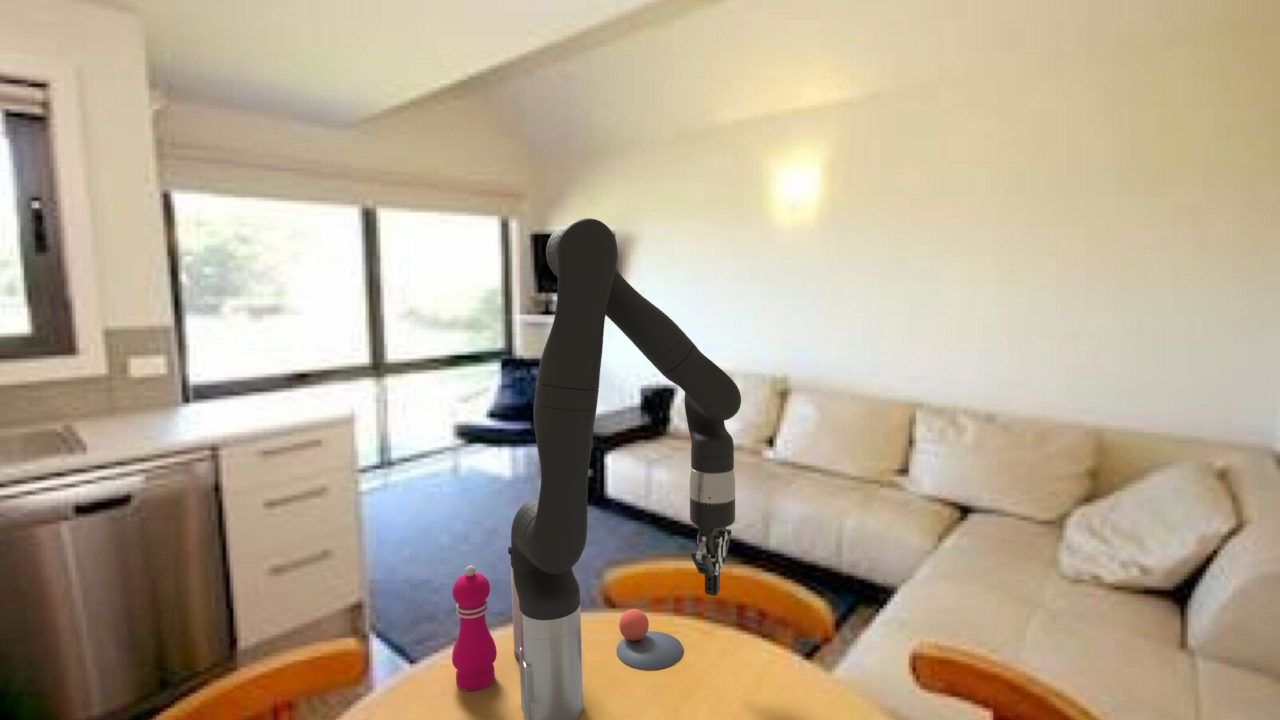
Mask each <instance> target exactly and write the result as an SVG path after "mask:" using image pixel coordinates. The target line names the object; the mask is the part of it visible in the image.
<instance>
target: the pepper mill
mask: <svg viewBox="0 0 1280 720" xmlns="http://www.w3.org/2000/svg"><path fill="white" fill-rule="evenodd" d="M476 569H477V568H476V567H475V566H474V565H468V566H466V567H465V569H464V574H462V575H461V576H459V577H458V578H457V579H456V580H455V581H454V584H453V585H452V586H453V587H452V592H451V593H452V598H453V600H454V602H455V603H457V604H456V607H455V608H456V615H457V616H458V617H459V631H458V635H457V638H456V640H455V643H454V644H453V645H454V646H453V649H452V652H451V653H452V654H451V655H452V656H451V663H452V665H453V667H454V668H455V669H456V672H455V679H456V681H455V682H456V685H457V686H458V687H459V689H461V690H464V691H468V692H469V691H471V692H473V691H479V690H482V689H485V688H486V687H488V686H489V685H491V684H492V683H493V681H494V680H495V678H496V676H495V675H496V674H495V671H496V670H495V665H494V662H495V661H496V659H497V645H496V642H495V640H494V638H493V635H492V634H491V633H490V630H489V628H488V625H487V621H486V613H487V611H488V610H489V607H488V604H489V603H488V600H487V599H488V598H489V596H490V592H491V584H490V582H489V579H488V578H487V576H485V575H484V574H482V573H480V572H477V570H476Z"/></svg>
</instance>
